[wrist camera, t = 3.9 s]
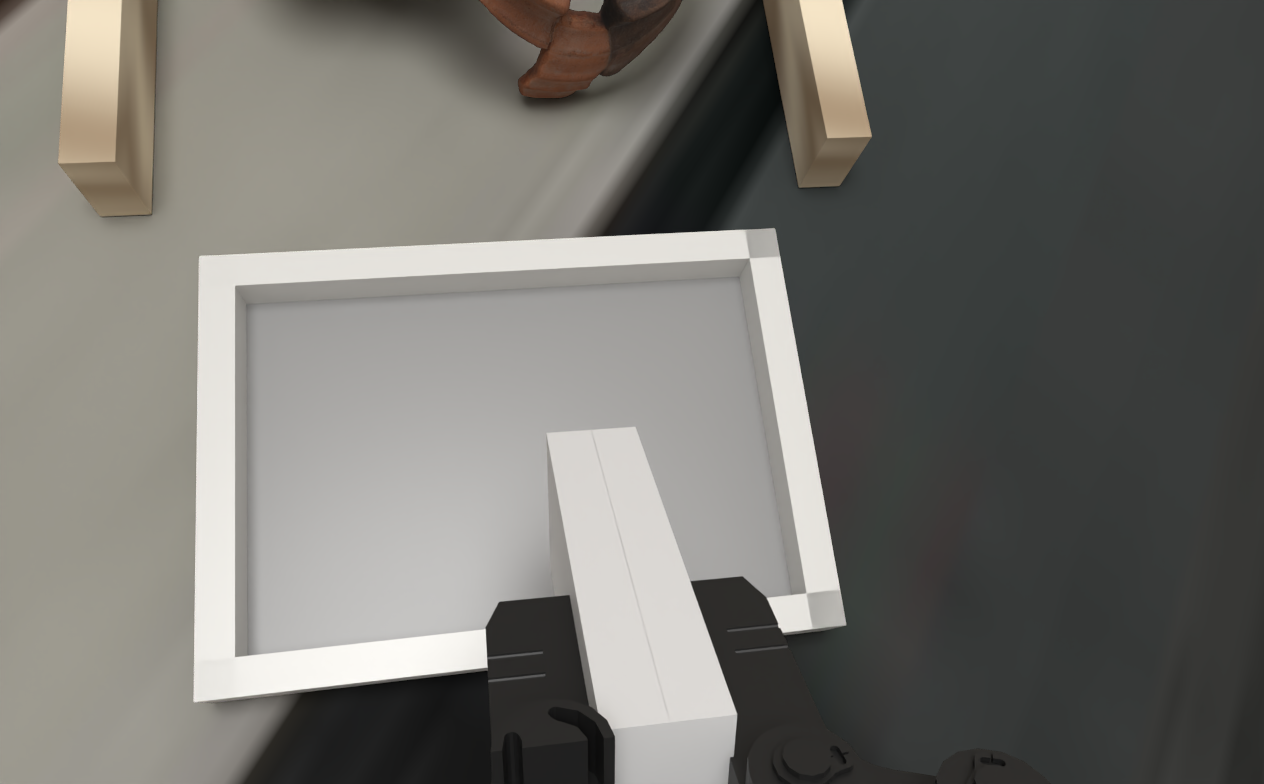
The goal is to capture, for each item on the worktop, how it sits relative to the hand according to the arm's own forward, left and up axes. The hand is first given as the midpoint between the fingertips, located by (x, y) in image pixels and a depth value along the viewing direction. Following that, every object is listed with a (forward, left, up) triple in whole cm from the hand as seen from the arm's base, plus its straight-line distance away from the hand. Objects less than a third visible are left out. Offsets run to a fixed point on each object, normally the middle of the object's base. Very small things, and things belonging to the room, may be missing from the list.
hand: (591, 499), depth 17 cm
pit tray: (-1, +2, -7) cm, 8 cm away
